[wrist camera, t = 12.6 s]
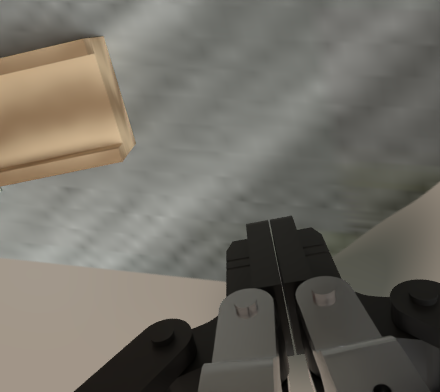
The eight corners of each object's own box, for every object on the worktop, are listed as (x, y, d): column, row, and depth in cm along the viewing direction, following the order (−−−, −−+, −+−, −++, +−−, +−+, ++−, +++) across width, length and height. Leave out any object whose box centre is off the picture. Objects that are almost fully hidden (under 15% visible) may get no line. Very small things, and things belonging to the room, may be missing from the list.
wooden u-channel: (-52, 72, 38) (-96, 80, 32) (103, 36, 36) (82, 38, 31) (-6, 173, 41) (-39, 194, 36) (135, 143, 40) (122, 161, 35)
